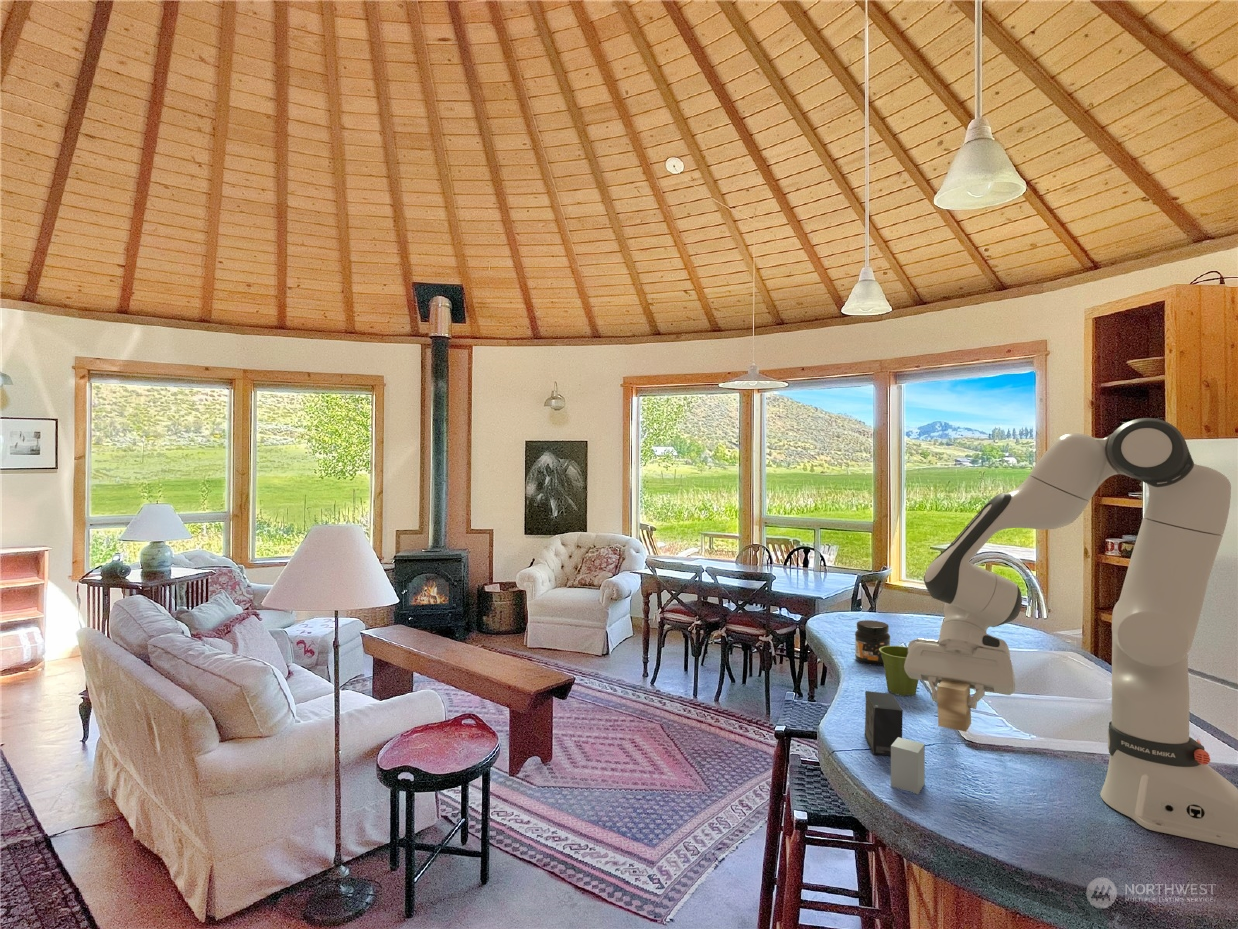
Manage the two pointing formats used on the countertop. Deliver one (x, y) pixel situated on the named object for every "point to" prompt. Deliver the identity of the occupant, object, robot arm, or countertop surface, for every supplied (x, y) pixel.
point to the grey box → (908, 765)
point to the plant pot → (897, 671)
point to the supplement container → (871, 641)
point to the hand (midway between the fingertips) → (953, 703)
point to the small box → (882, 721)
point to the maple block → (953, 705)
